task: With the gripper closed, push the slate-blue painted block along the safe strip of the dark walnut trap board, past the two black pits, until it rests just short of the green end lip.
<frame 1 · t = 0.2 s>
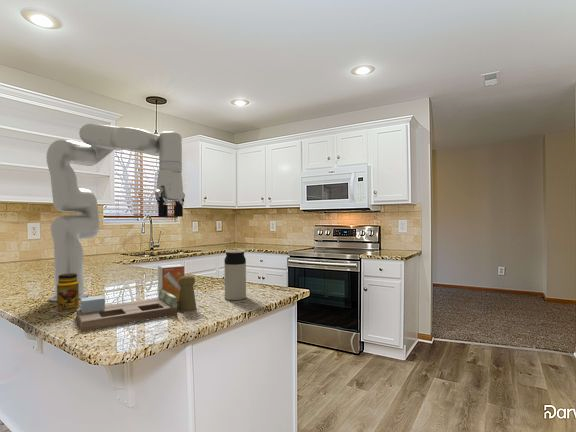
hand: (171, 216, 123), 31 cm above the worktop, tool pointing down, fingers open, 9 cm apart
condiment: (66, 310, 117), on the worktop
pepper mill: (187, 309, 117), on the worktop
travel mug: (235, 298, 132), on the worktop
block: (92, 309, 108), point 2 cm above the worktop, touching trap board
trap board: (127, 316, 109), on the worktop
small box: (171, 301, 128), on the worktop
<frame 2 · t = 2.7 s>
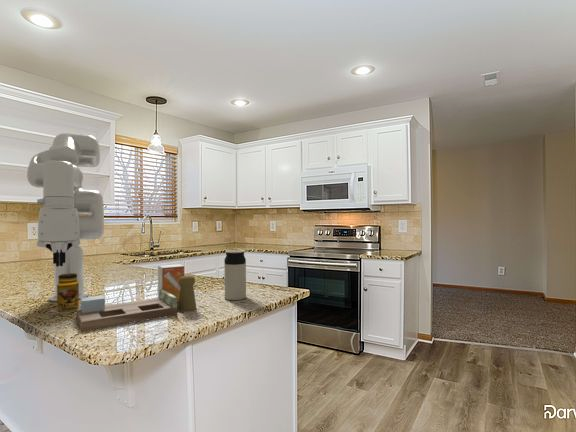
hand: (59, 265, 103), 17 cm above the worktop, tool pointing down, fingers closed
nothing on the worktop moved.
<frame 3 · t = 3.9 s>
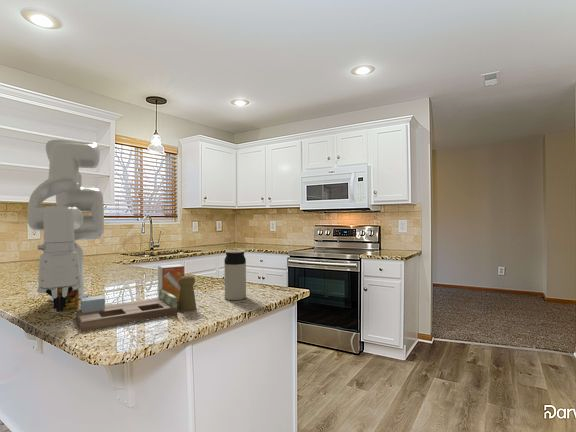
hand: (59, 310, 103), 4 cm above the worktop, tool pointing down, fingers closed
nothing on the worktop moved.
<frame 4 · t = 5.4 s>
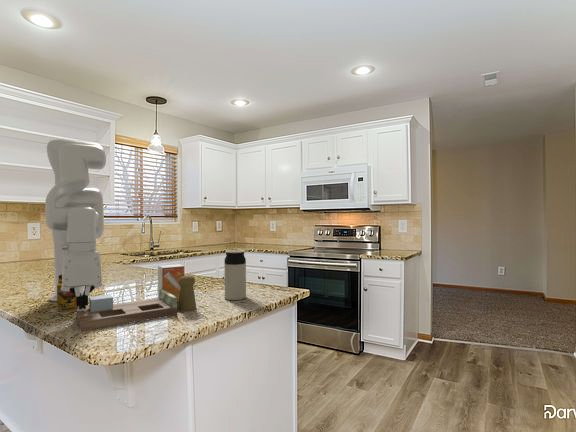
hand: (82, 308, 106), 3 cm above the worktop, tool pointing down, fingers closed
block: (101, 308, 109), point 3 cm above the worktop, touching gripper, trap board
everything else where it was.
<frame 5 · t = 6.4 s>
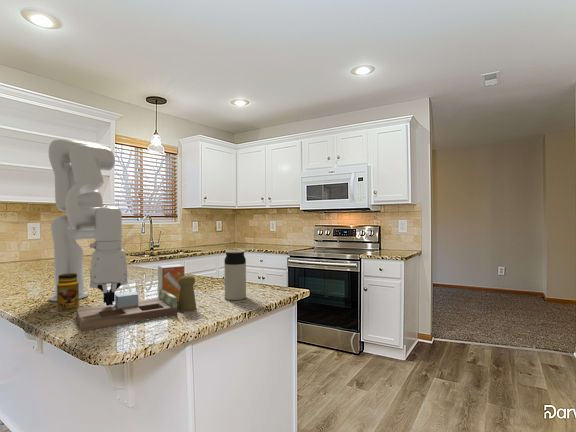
hand: (109, 304, 110), 3 cm above the worktop, tool pointing down, fingers closed
block: (126, 304, 113), point 3 cm above the worktop, touching gripper
everything else where it was.
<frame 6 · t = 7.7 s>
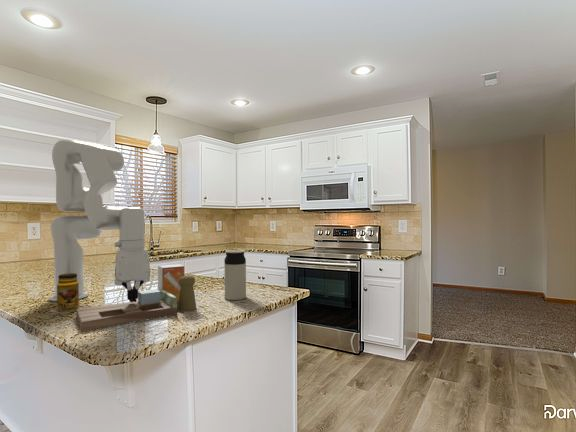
hand: (132, 301, 114), 3 cm above the worktop, tool pointing down, fingers closed
block: (149, 301, 117), point 2 cm above the worktop, touching gripper, trap board
everything else where it was.
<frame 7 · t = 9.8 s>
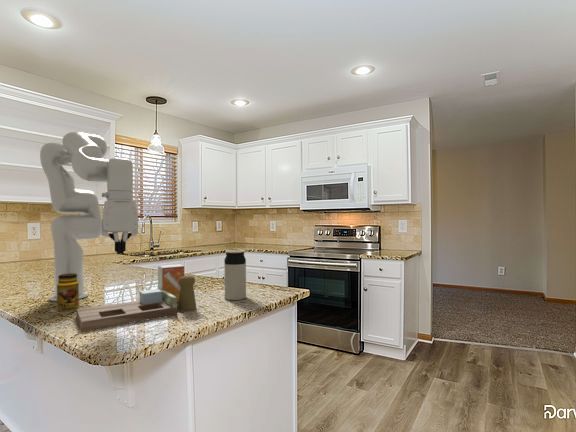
hand: (120, 253, 113), 19 cm above the worktop, tool pointing down, fingers closed
block: (150, 301, 117), point 2 cm above the worktop, touching trap board
everything else where it was.
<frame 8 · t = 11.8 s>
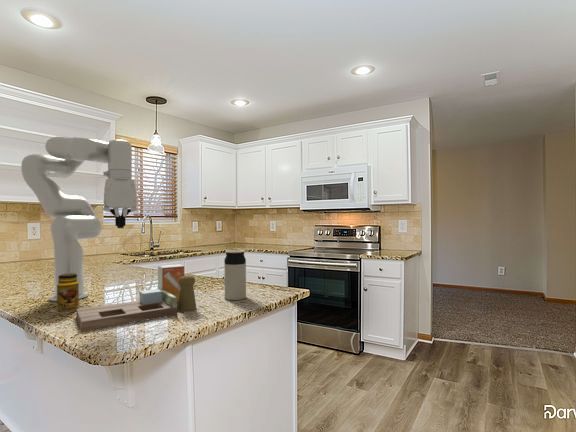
hand: (120, 227, 123), 27 cm above the worktop, tool pointing down, fingers closed
nothing on the worktop moved.
at the end: block inside the target area on the trap board (0.7 cm from its centre), point 2.5 cm above the trap board's base; block tilted 0° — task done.
